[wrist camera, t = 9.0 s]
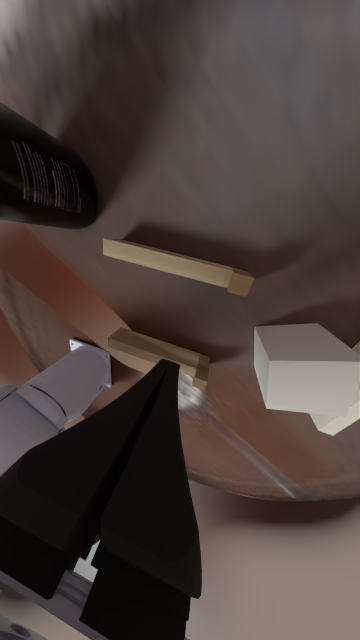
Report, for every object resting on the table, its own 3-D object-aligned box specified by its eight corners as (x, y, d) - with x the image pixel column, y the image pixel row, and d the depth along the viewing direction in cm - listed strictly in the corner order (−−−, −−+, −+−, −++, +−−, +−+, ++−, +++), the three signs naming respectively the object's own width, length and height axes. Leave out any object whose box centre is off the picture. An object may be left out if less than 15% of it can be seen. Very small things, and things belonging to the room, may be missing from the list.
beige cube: (308, 366, 17) (345, 417, 12) (253, 365, 19) (266, 408, 14) (317, 322, 15) (369, 362, 10) (254, 325, 17) (269, 360, 12)
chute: (206, 364, 21) (203, 390, 17) (121, 335, 23) (101, 352, 19) (245, 270, 14) (254, 278, 11) (121, 239, 16) (91, 236, 12)
